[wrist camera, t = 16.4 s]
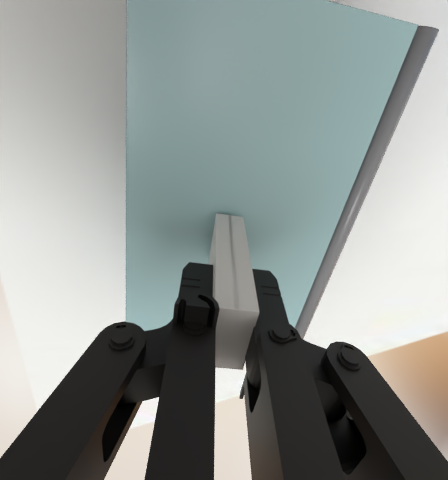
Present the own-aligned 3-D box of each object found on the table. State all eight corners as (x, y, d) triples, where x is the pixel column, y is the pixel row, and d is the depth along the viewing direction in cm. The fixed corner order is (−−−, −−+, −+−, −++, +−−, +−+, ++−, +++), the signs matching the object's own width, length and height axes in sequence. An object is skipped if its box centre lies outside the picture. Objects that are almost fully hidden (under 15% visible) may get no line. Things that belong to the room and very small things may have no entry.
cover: (129, -47, 10) (126, -56, 9) (426, 32, 13) (444, 30, 12) (126, 351, 20) (125, 364, 19) (293, 346, 23) (298, 357, 22)
